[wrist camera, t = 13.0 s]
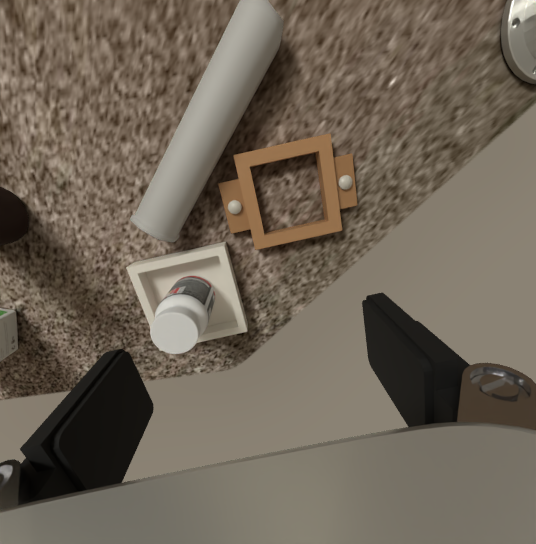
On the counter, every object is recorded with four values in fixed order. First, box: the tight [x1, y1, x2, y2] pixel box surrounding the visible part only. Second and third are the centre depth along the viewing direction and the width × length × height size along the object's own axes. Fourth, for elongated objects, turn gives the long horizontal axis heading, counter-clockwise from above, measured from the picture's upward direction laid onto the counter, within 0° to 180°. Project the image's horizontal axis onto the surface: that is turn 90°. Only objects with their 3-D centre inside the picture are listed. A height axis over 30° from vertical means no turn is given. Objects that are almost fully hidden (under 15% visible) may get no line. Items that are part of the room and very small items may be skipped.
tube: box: [130, 0, 284, 242], centre depth 28 cm, size 5×5×25 cm
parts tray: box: [126, 242, 248, 351], centre depth 35 cm, size 12×12×2 cm
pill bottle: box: [150, 275, 215, 354], centre depth 30 cm, size 6×6×10 cm
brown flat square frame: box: [218, 134, 357, 250], centre depth 32 cm, size 16×11×2 cm
